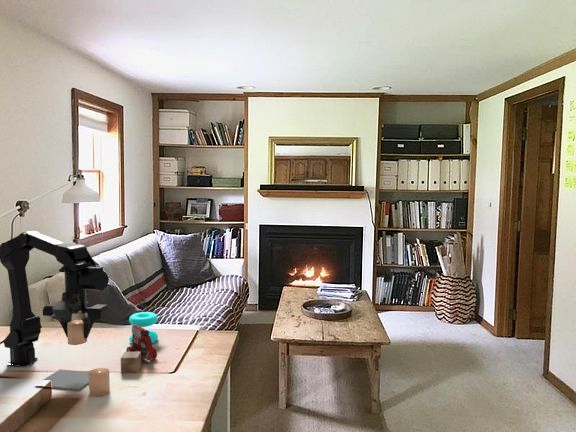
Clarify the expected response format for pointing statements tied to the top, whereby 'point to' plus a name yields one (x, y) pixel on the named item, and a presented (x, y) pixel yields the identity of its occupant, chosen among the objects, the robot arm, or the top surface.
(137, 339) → the toy fire truck
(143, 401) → the top surface
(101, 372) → the peach domed cap
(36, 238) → the robot arm
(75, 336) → the peach domed cylinder
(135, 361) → the walnut block
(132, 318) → the donuts
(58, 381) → the slate board
